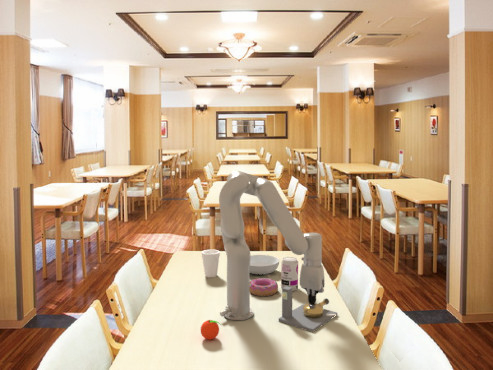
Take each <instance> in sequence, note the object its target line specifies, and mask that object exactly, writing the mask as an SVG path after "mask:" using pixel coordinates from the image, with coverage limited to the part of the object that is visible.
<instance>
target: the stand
mask: <svg viewBox="0 0 493 370" xmlns="http://www.w3.org/2000/svg"><path fill="white" fill-rule="evenodd" d="M305 304H306V303H303V304H301V305H300V306H298V307H296V308H294V309H293V291H292V288H291V287H288V286H286V287H284V288H281V309H282V310H281V316H280V317H278V322H280V323H282V322H283V324H285V325H286V324H287V325H289V326H293V327H295V326H296V328H298V327H299V328H298V329H301V328H303V329H302V330H304V329H306V331H308V330H309V331H308V332H311V331H314V330H315V331H317V330H318V329H319V327H320V326H321V325H323V324H324V323H326V322H327V321H328V320H330V319H331V318H332V317H334V316H335V315H337V316H338V312H337V311H334V310H330V309H326V308H323V315H322V316H321V317H318V318H310V317H307V316H305V315H304V314H303V306H304V305H305ZM334 318H335V317H334ZM331 320H332V319H331ZM331 320H330V321H331ZM328 322H329V321H328ZM328 322H327V323H328ZM327 323H326V324H327ZM324 325H325V324H324ZM324 325H323V326H324ZM321 327H322V326H321ZM321 327H320V328H321ZM317 328H318V329H317ZM316 329H317V330H316ZM315 331H314V332H315Z"/></svg>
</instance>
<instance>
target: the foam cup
mask: <svg viewBox="0 0 493 370" xmlns="http://www.w3.org/2000/svg"><path fill="white" fill-rule="evenodd" d="M220 256H221V253H220V250H217V249H205V250H202V251H201V258H202V264H203V270H204V271H203V272H204V276H205V277H206V278H216V277H218V270H219V262H220Z"/></svg>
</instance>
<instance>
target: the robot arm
mask: <svg viewBox="0 0 493 370" xmlns="http://www.w3.org/2000/svg"><path fill="white" fill-rule="evenodd" d="M243 194H247V195H250V196H254V197H256V198H257V199H258V201H259V202H260V204H261V206H262V207H263V209H264V211H265V213H266V215H267V216H268V218H269V220H270V221H271V223H272V224H273V225H274V226H275V228H277V230H278V231H279V232H280V234H281V235H282V237H283V239H284V244H285V246H286V247H287V248H288V249H289V250H290V252H292V253H293V254H294V255H297V256H302V255H303V257H301V261H303V263H301V267H300V271H299V273H300V274H299V286H300V287H301V288H302V289H303V290H305V291H306V294H307V295H308V296H307V301H308V303H316V302H317V295H318V294H322V293H324V292H325V289H324V288H325V284H326V283H325V281H326V280H325V271H324V266H323V265H322V264H323V263H322V260H323V255H322V253H323V251H322V250H323V237H322V234H321V233H319V232H305V233H304V232H303V231H302V230H301V228H300V226H299V225H298V223H297V221H296V220H295V218H294V216H293V214H292V213H291V211H290V210H289V208H288V207H287V205H286V203H285V202H284V199H283V198H282V196H281V194H280V193H279V191H278V189H277V187H276V186H275V185H274V183H273V182H272V181H270V180H269V179H267V178H265V177H260V176H257V175H253V174H251V173H250V174H249V173H246V172H243V171H241V170H234V171H231V172H230V173H229V174H228V175H227V177H226V182H225V183H224V184H223V186H222V188H221V189H220V192H219V196H218V204H219V211H220V212H219V213H220V217H221V218H220V222H219V223H220V225H219V226H220V232H221V237H222V242H223V246H224V247H223V248H224V251H225V255H226V305H225V309H224V310H221V311H220V312H219V316H220V317H224V318H226V319H228V320H231V321H245V320H248V319H251V318H252V317H253V316H254V310H253V309H252V308H251V302H250V301H251V292H250V281H251V280H250V278H251V277H250V276H251V275H250V274H251V273H250V258H251V250H250V247H249V245H248V244H247V242H246V237H245V222H244V219H243V212H242V208H241V207H242V206H241V198H242V195H243Z"/></svg>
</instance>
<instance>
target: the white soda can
mask: <svg viewBox="0 0 493 370" xmlns="http://www.w3.org/2000/svg"><path fill="white" fill-rule="evenodd" d="M280 263H281V265H280V267H281V269H280V271H281V272H280V274H281V275H280V279H281V280H280V282H281V283H280V286H281V289H282V288H284V287H286V286H288V287H291V288H292V292H295V291H297V290H298V288H299V261H298V259H297V257H293V256H286V257H283V258H282V259H281V262H280Z"/></svg>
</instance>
